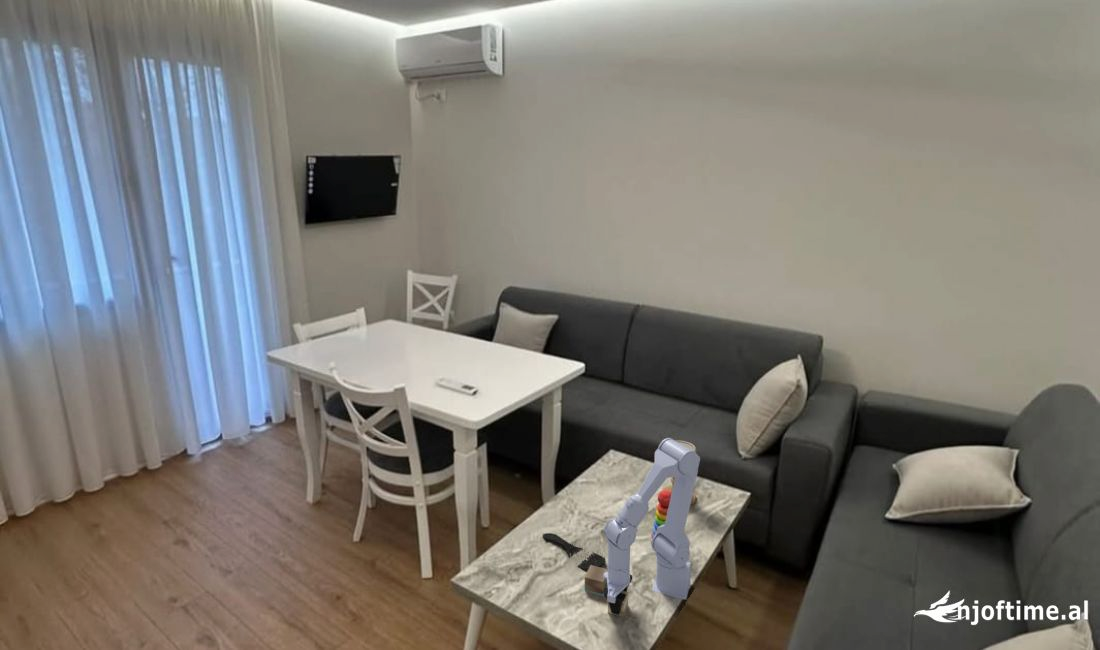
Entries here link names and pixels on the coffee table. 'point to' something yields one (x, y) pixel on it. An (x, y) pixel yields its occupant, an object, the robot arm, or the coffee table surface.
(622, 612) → the birch block
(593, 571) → the walnut block
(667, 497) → the stacking toy
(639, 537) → the coffee table surface
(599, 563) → the hairbrush
